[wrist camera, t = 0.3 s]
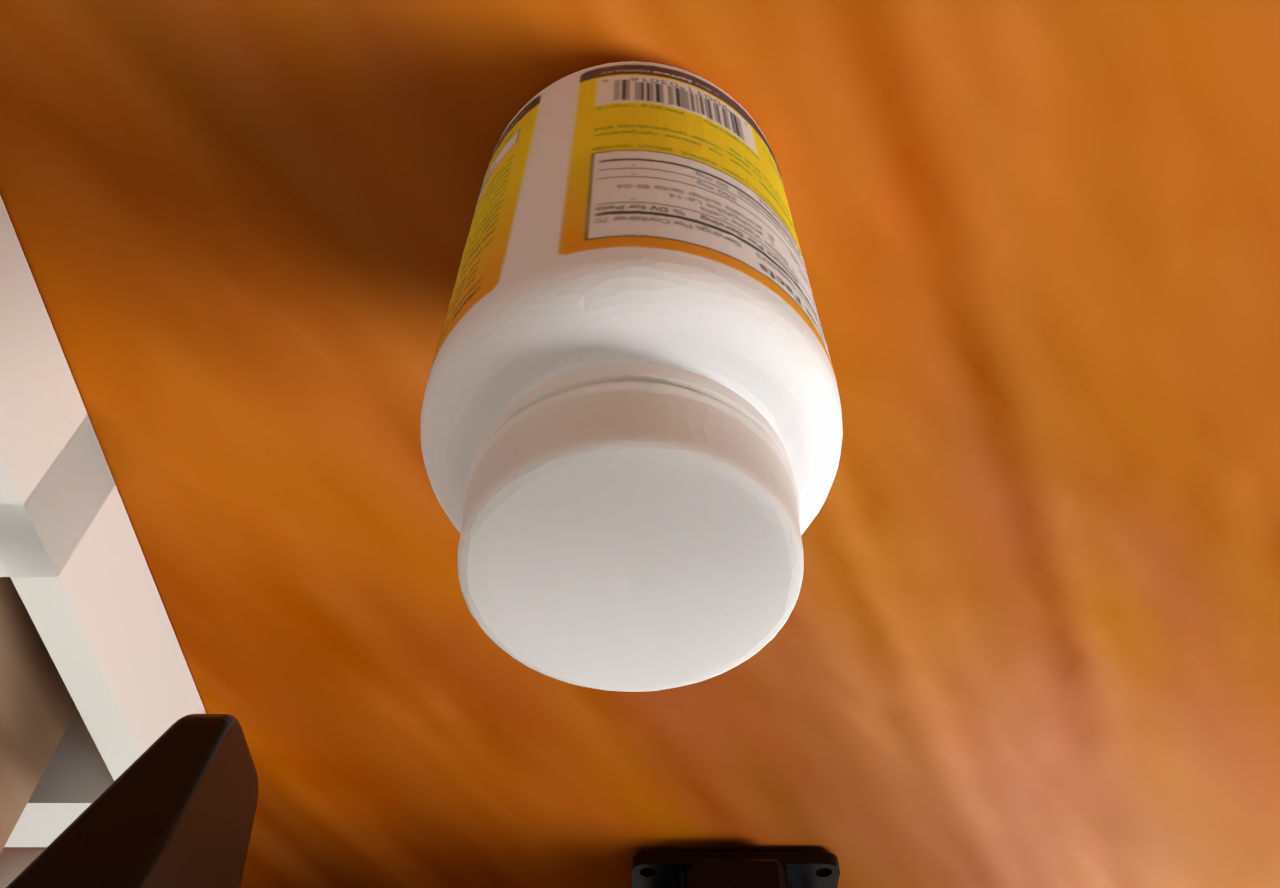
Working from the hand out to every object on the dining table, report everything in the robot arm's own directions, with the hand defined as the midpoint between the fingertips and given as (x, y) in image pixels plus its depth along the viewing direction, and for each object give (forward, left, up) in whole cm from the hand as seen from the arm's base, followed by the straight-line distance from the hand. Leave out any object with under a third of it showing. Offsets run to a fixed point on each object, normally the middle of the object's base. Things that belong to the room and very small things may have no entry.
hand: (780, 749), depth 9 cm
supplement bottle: (-1, +1, -14) cm, 14 cm away
